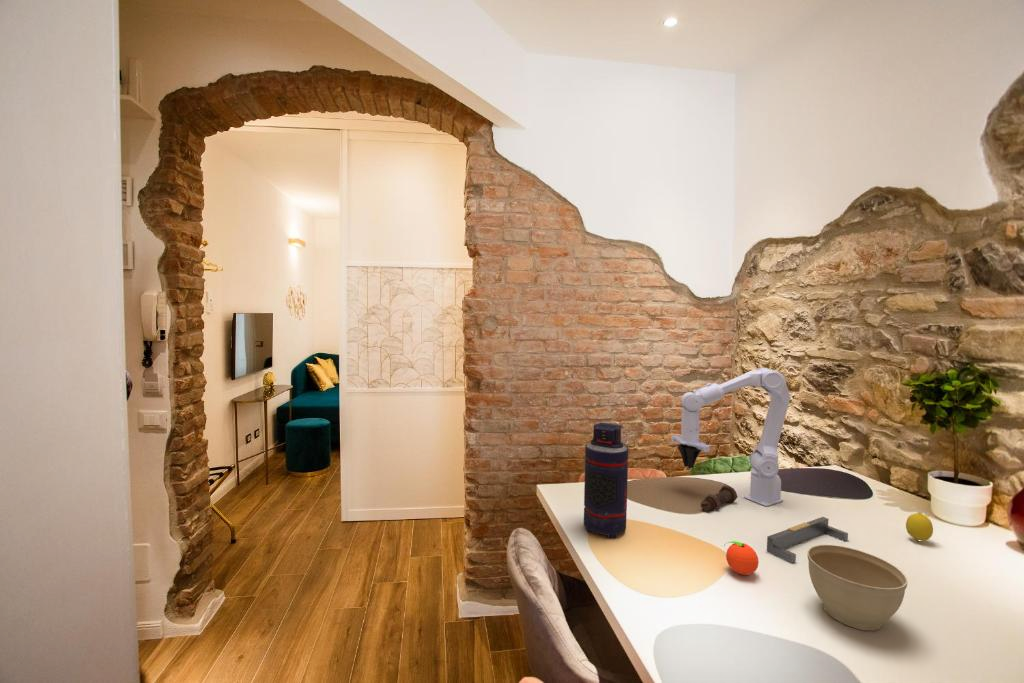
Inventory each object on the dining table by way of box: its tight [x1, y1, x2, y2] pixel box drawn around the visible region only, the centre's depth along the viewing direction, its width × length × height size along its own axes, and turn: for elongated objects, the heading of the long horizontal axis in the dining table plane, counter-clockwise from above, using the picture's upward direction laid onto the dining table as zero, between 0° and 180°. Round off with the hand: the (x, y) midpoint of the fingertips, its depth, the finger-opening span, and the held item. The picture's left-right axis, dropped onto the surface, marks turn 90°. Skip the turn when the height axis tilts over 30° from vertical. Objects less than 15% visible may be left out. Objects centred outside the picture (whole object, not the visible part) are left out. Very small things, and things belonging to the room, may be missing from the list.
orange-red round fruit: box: [723, 540, 760, 576], centre depth 108 cm, size 8×7×7 cm
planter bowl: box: [806, 544, 908, 631], centre depth 92 cm, size 16×16×11 cm
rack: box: [766, 516, 849, 564], centre depth 121 cm, size 26×6×4 cm, turn 118°
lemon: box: [905, 512, 934, 541], centre depth 124 cm, size 6×6×8 cm
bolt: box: [700, 485, 738, 512], centre depth 145 cm, size 6×5×15 cm
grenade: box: [583, 421, 629, 539], centre depth 129 cm, size 14×12×30 cm
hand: (688, 466), depth 155 cm, fingers closed
